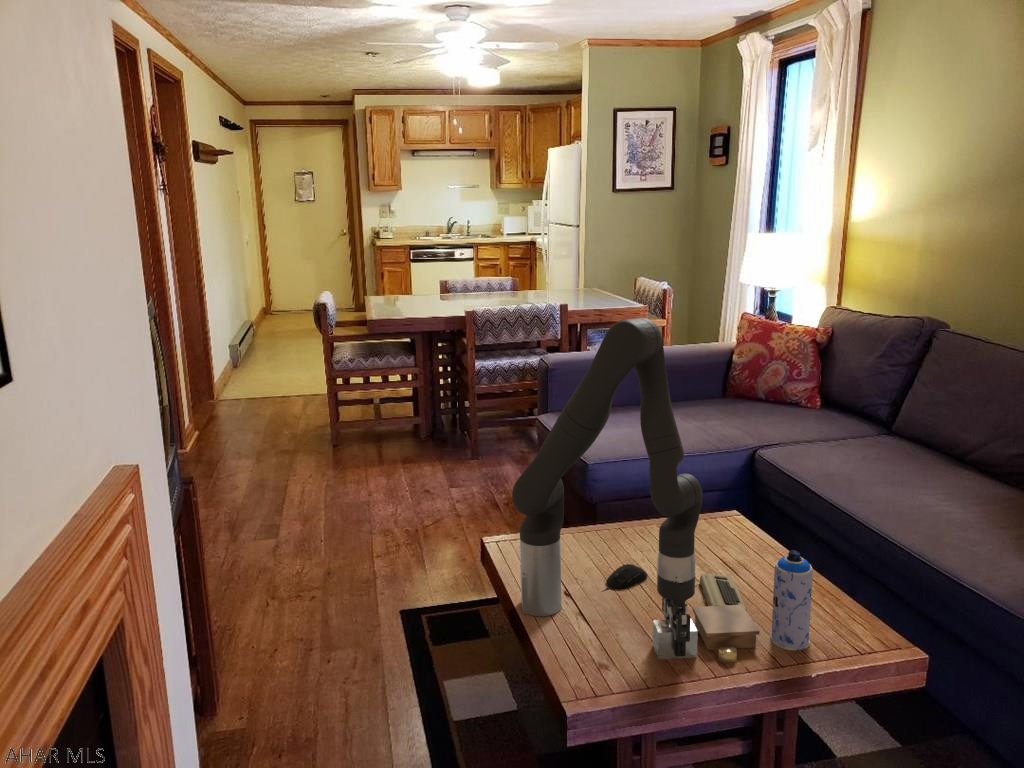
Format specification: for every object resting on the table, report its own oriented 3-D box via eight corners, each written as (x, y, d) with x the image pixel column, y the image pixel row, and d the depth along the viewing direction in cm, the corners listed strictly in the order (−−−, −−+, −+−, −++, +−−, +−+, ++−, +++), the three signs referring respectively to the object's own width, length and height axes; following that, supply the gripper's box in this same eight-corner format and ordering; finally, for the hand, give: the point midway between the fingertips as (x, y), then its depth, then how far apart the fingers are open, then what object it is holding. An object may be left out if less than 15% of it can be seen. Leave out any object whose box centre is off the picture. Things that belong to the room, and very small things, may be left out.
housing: (658, 659, 158) (658, 628, 157) (652, 646, 163) (653, 615, 162) (697, 657, 159) (697, 626, 157) (690, 644, 163) (691, 614, 162)
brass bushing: (721, 664, 156) (721, 655, 156) (716, 654, 160) (716, 645, 159) (739, 663, 156) (739, 654, 156) (733, 653, 160) (733, 644, 159)
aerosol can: (768, 629, 168) (772, 543, 164) (806, 632, 167) (811, 545, 162) (772, 648, 161) (776, 559, 156) (812, 652, 159) (817, 561, 155)
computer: (747, 617, 174) (748, 604, 173) (710, 617, 175) (711, 604, 174) (733, 585, 189) (733, 572, 188) (699, 584, 190) (699, 572, 189)
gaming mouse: (592, 588, 189) (592, 573, 188) (633, 570, 198) (633, 555, 198) (611, 598, 185) (611, 582, 184) (652, 578, 194) (652, 563, 193)
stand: (706, 651, 161) (706, 633, 160) (692, 623, 171) (692, 607, 170) (758, 648, 161) (759, 630, 160) (741, 621, 172) (742, 604, 171)
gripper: (650, 557, 164) (649, 628, 167) (666, 589, 150) (665, 666, 153) (685, 555, 164) (684, 626, 168) (704, 587, 150) (702, 664, 154)
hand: (675, 645), depth 161 cm, fingers open, 7 cm apart
